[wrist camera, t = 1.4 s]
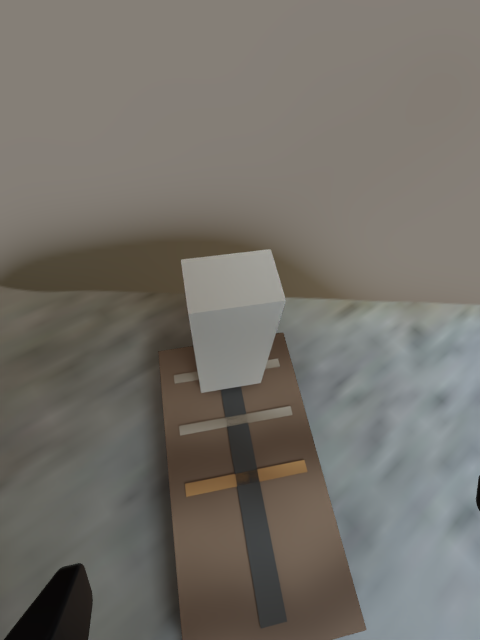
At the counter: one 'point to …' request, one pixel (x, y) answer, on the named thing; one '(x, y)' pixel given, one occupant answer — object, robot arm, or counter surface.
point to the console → (251, 510)
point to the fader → (232, 316)
